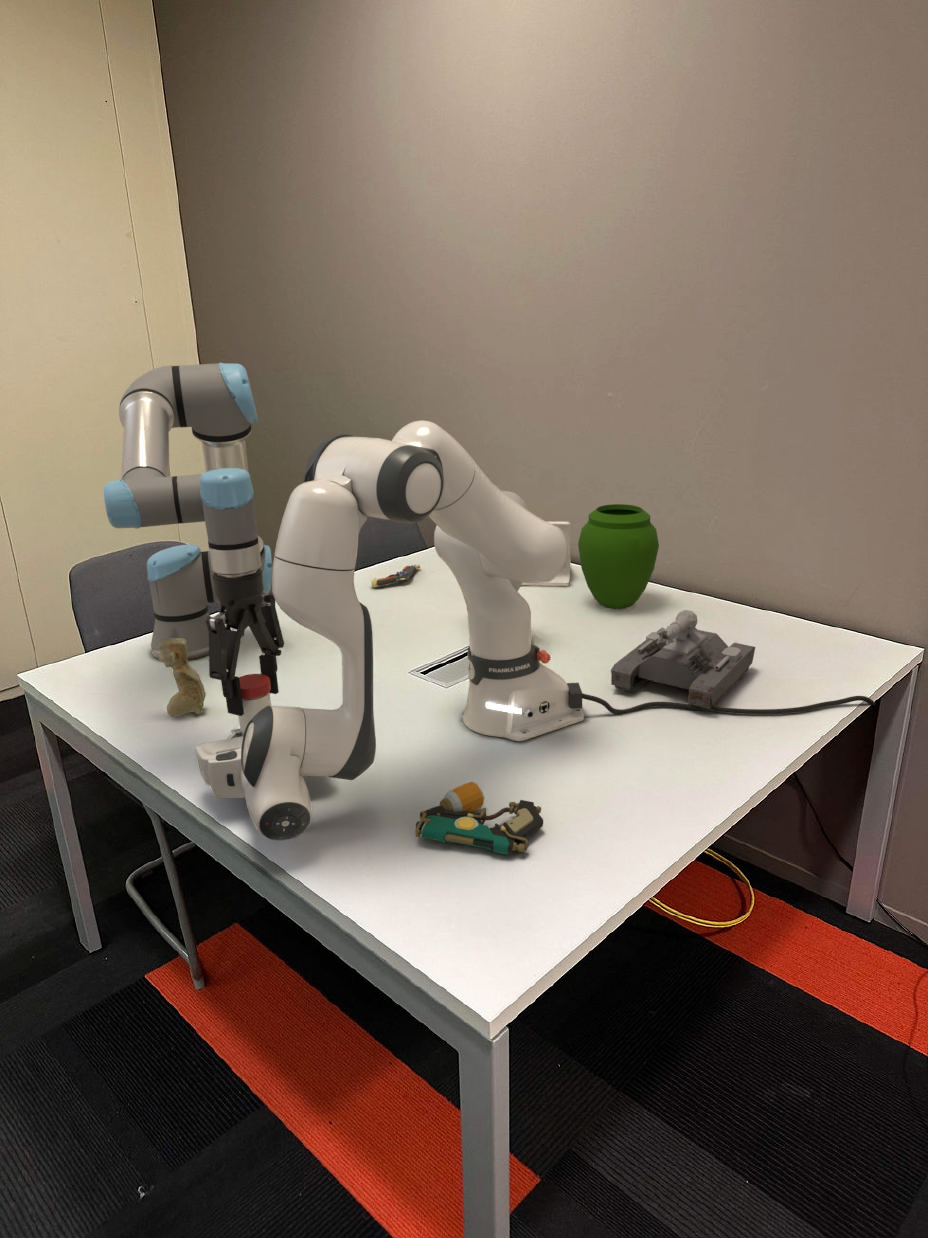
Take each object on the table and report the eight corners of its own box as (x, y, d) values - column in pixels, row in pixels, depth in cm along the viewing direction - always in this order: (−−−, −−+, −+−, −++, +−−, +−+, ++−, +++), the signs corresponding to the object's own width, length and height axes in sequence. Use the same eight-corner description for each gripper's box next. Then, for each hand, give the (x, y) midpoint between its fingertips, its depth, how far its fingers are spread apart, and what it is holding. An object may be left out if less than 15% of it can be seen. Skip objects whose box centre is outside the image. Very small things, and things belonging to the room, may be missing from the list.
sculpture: (171, 706, 167) (160, 635, 161) (209, 704, 167) (199, 633, 162) (165, 720, 161) (153, 647, 156) (204, 717, 162) (193, 644, 157)
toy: (661, 649, 187) (665, 584, 181) (753, 669, 176) (760, 600, 170) (609, 692, 167) (612, 620, 162) (708, 717, 156) (715, 641, 151)
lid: (254, 701, 136) (253, 691, 135) (226, 695, 138) (224, 685, 138) (278, 686, 141) (277, 677, 140) (250, 680, 143) (248, 671, 143)
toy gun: (368, 580, 231) (404, 577, 228) (387, 564, 248) (420, 561, 246) (370, 589, 231) (405, 586, 229) (389, 573, 249) (422, 570, 247)
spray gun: (554, 825, 127) (505, 884, 116) (460, 789, 135) (404, 841, 124) (556, 801, 125) (505, 859, 114) (460, 766, 133) (404, 817, 122)
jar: (243, 776, 142) (231, 692, 137) (248, 759, 147) (238, 678, 142) (275, 774, 142) (265, 691, 137) (280, 757, 147) (270, 677, 142)
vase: (599, 587, 227) (601, 497, 218) (668, 600, 216) (673, 505, 208) (562, 608, 212) (564, 513, 204) (634, 623, 202) (639, 523, 193)
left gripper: (261, 550, 143) (276, 674, 151) (169, 587, 125) (191, 725, 133) (297, 555, 139) (310, 681, 147) (208, 593, 122) (228, 734, 130)
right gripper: (333, 737, 133) (316, 701, 145) (197, 763, 127) (191, 723, 139) (337, 772, 135) (319, 734, 147) (203, 800, 129) (197, 757, 141)
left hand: (253, 702), depth 140 cm, fingers open, 8 cm apart
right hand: (256, 729), depth 143 cm, fingers closed on jar, 5 cm apart
